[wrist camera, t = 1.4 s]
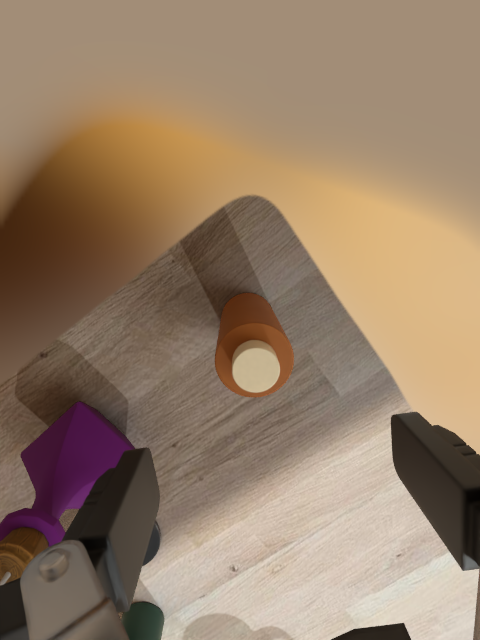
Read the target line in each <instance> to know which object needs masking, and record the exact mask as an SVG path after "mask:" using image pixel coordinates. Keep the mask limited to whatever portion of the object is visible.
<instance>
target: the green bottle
mask: <svg viewBox="0 0 480 640" xmlns="http://www.w3.org/2000/svg"><path fill="white" fill-rule="evenodd" d="M121 622H122V624H123V626H124V628H125V631H126V633H127V635H128V637H129V639H130V640H161V636H162V631H163V625H164V615H163V613H162V611H161V610H160V609H159V608H158V607H157V606H155V605H153V604H150V603H146V602H139V603H135V604H132V605H131V607H130V610H129V611H127V612H123V615H122V618H121Z"/></svg>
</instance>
